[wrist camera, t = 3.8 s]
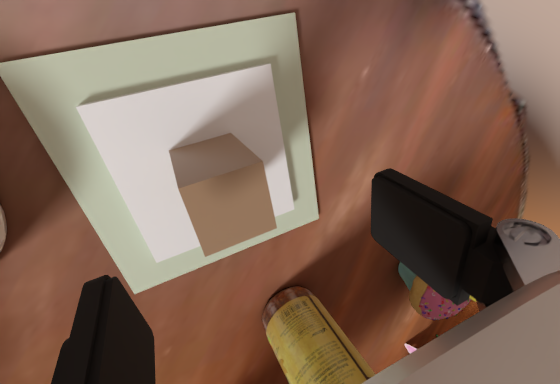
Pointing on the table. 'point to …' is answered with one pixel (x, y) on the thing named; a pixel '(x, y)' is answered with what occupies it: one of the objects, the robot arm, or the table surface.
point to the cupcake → (428, 297)
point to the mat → (147, 75)
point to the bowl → (2, 228)
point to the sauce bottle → (311, 341)
